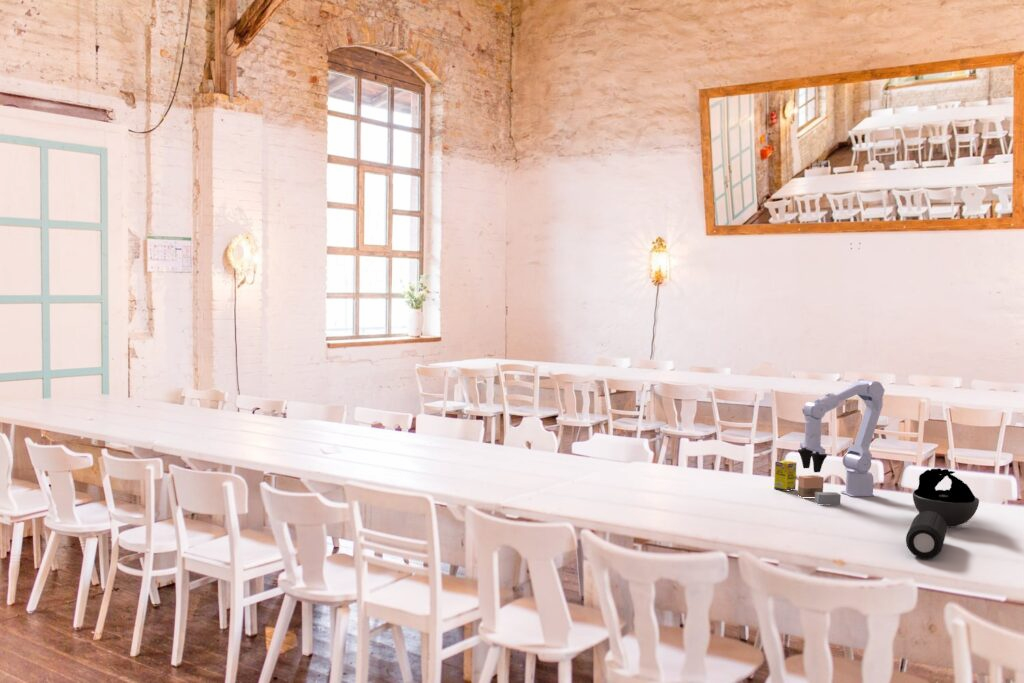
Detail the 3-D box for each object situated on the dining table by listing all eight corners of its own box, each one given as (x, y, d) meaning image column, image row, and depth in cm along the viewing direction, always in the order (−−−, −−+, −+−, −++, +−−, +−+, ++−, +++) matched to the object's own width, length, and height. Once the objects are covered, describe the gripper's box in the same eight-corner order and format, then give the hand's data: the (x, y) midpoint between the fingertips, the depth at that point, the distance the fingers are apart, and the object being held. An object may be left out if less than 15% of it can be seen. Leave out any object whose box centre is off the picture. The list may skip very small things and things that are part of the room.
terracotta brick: (817, 485, 352) (817, 475, 352) (823, 487, 349) (823, 477, 348) (798, 486, 351) (798, 475, 350) (803, 488, 347) (804, 477, 347)
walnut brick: (816, 496, 353) (817, 485, 353) (822, 498, 349) (823, 487, 349) (797, 496, 351) (798, 486, 351) (803, 499, 347) (803, 488, 347)
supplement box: (787, 491, 359) (788, 463, 358) (773, 489, 363) (774, 461, 363) (795, 490, 362) (797, 462, 362) (782, 487, 367) (783, 459, 366)
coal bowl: (921, 515, 324) (923, 462, 323) (984, 525, 311) (987, 470, 310) (903, 526, 308) (906, 470, 307) (969, 537, 296) (971, 478, 295)
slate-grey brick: (836, 503, 342) (836, 492, 341) (840, 505, 338) (840, 494, 337) (814, 502, 341) (814, 492, 341) (818, 505, 337) (818, 494, 337)
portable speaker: (941, 563, 267) (943, 529, 266) (904, 558, 271) (905, 524, 271) (946, 543, 289) (948, 511, 288) (912, 538, 294) (913, 507, 293)
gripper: (793, 431, 355) (792, 466, 356) (813, 437, 341) (812, 474, 342) (810, 431, 356) (808, 466, 357) (830, 437, 342) (829, 473, 343)
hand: (811, 470), depth 349 cm, fingers open, 7 cm apart
